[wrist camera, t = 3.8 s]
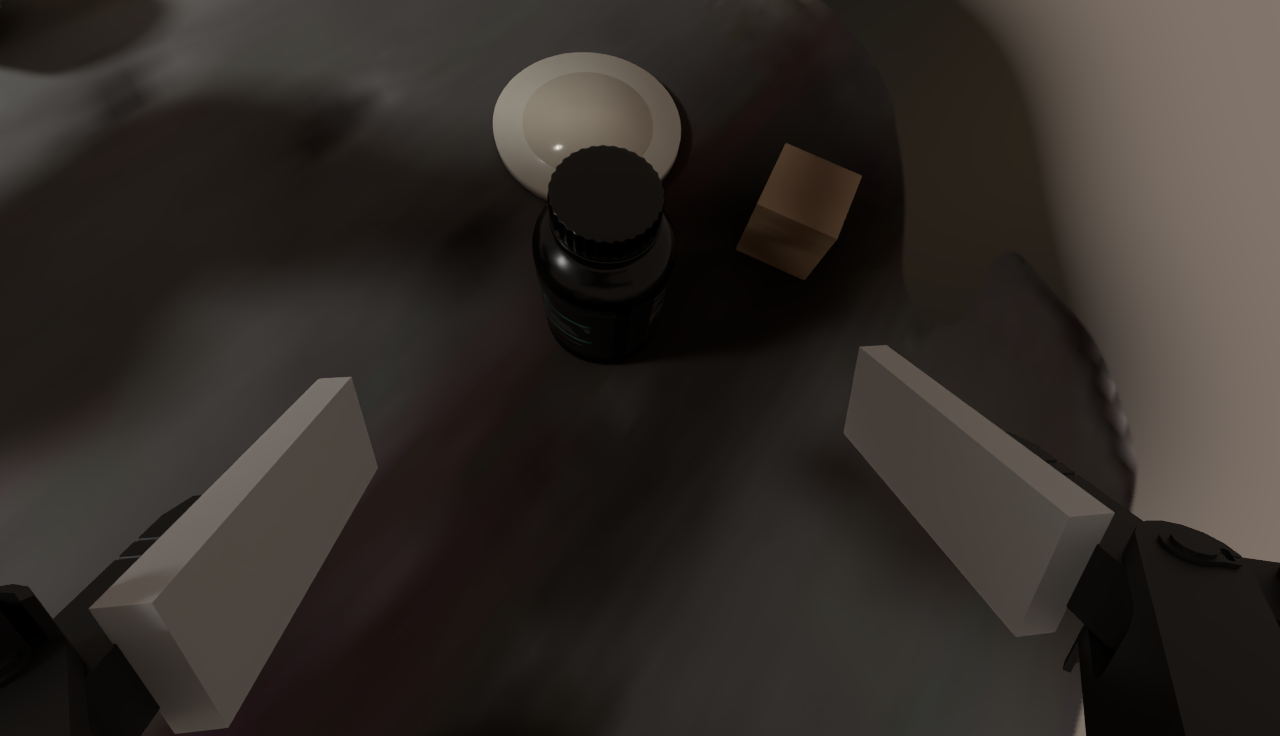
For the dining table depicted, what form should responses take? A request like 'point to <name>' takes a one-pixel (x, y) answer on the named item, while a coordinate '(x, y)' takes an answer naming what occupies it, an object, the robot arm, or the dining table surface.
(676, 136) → the plate
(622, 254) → the supplement bottle
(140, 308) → the dining table surface
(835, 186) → the walnut block
